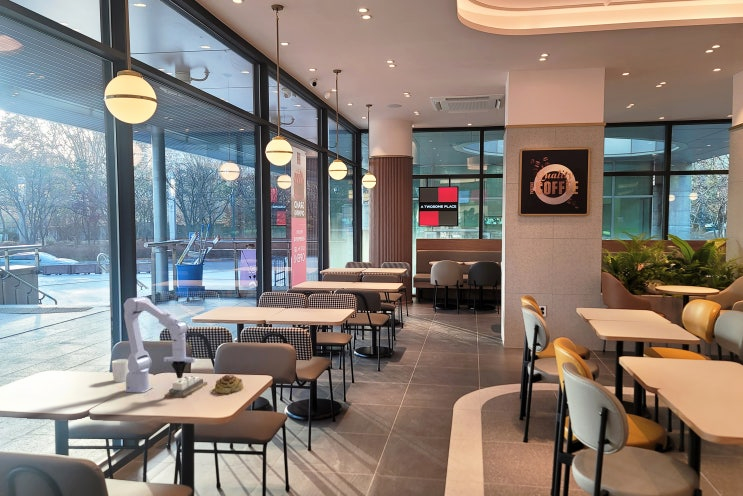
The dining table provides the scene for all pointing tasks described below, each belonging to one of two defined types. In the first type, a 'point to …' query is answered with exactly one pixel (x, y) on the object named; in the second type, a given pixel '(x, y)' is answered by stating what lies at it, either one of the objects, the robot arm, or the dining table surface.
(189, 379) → the tile two
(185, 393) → the board
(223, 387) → the pastry
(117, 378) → the white cup
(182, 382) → the tile one
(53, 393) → the dining table surface
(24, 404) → the dining table surface
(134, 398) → the dining table surface
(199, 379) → the tile three
